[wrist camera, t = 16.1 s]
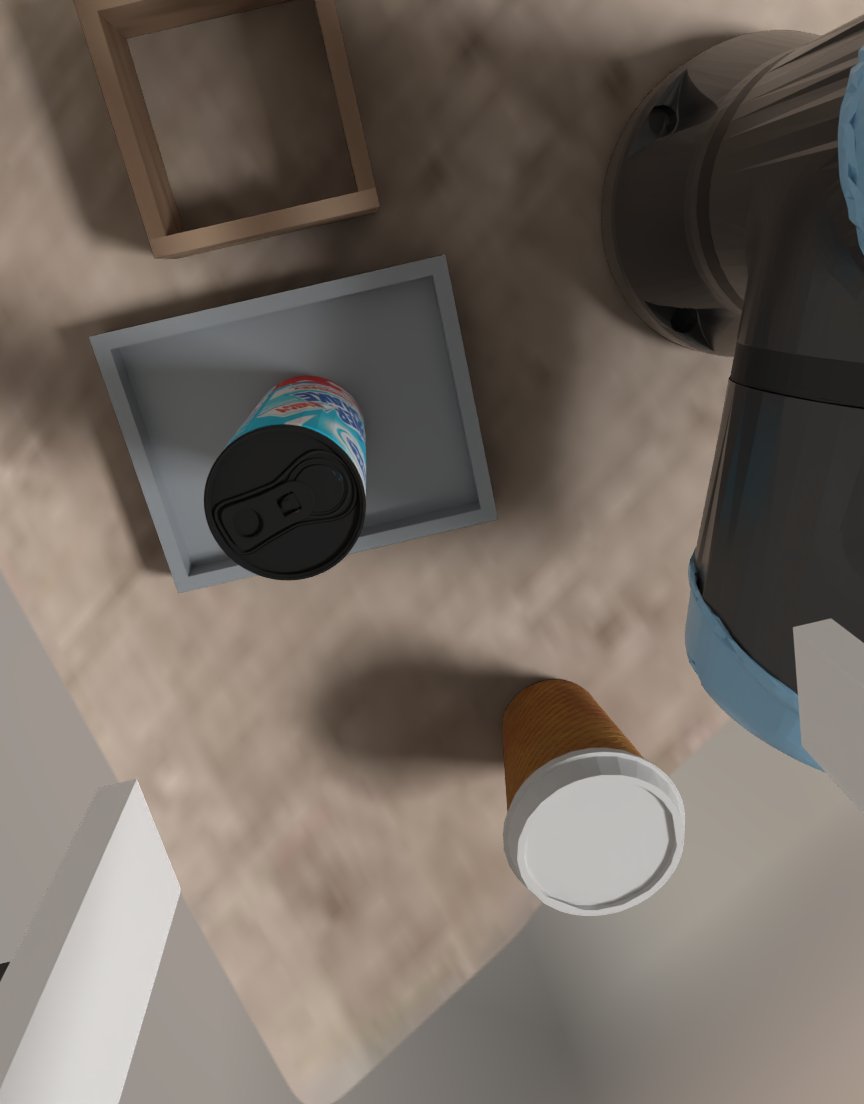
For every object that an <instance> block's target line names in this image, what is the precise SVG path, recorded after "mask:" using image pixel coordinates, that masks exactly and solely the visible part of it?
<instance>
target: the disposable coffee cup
mask: <svg viewBox="0 0 864 1104" xmlns="http://www.w3.org/2000/svg"><path fill="white" fill-rule="evenodd" d="M502 737H503V752H504V767H505V782H506V796H507V812H508V813H507V816H506V819H505V822H504V831H503V840H504V851H505V854H506V857H507V860H508V863H509V866H510V868H511V869H512V871H513V872H514V874H515V875H516V877H517V878H518V879H519V880H520V881H521V882H522V883H523V884H524V885H525V886H526V887H527V888H528V889H529V890H530V891H531V892H532V893H533V894H534V895H535V896H536V897H537V898H538V899H540V900H541V901H542V902H543V903H545V904H547V905H549V906H551V907H553V908H555V909H557V910H559V911H562V912H566V913H569V914H574V915H583V916H599V915H604V914H611V913H617V912H620V911H622V910H625V909H627V908H630V907H632V906H635V905H637V904H639V903H640V902H642V901H644V900H645V899H647V898H649V897H650V896H651V895H653V894H654V893H655V892H656V891H657V890H658V889H660V888H661V887H662V886H663V885H664V884H665V883H666V881H667V880H668V879H669V878H670V876H671V875H672V874H673V872H674V870H675V869H676V867H677V865H678V862H679V860H680V857H681V855H682V851H683V846H684V828H685V813H684V806H683V802H682V799H681V796H680V794H679V792H678V790H677V788H676V787H675V785H674V783H673V782H672V781H671V780H670V778H669V777H668V776H667V775H666V774H665V773H664V772H663V771H662V770H661V769H659V768H658V767H657V766H656V765H655V764H653V763H651V762H649V761H647V760H646V759H644V758H643V757H642V756H641V754H640V753H639V752H638V751H637V750H636V749H635V747H634V746H633V745H632V744H631V743H630V741H629V740H628V739H627V738H626V737H625V736H624V734H623V733H622V732H621V731H620V730H619V728H618V727H617V726H616V725H615V724H614V722H613V721H612V720H611V719H610V718H609V717H608V715H607V714H606V713H605V712H604V711H603V709H602V708H601V707H600V706H599V705H598V704H597V702H596V701H595V700H594V699H593V697H592V696H591V695H590V694H589V692H587V691H586V690H585V689H583V688H582V687H581V686H579V685H577V684H574V683H572V682H569V681H565V680H546V681H542V682H538V683H535V684H533V685H531V686H529V687H527V688H525V689H524V690H522V691H521V692H520V693H518V694H517V695H516V697H515V698H514V699H513V700H512V701H511V702H510V704H509V706H508V707H507V709H506V711H505V714H504V717H503V722H502Z"/></svg>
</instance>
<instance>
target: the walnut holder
mask: <svg viewBox="0 0 864 1104" xmlns="http://www.w3.org/2000/svg"><path fill="white" fill-rule="evenodd" d="M287 1H291V0H74V3H75V6H76V10H77V13H78V16H79V19H80V22H81V26H82V29H83V32H84V35H85V38H86V42H87V45H88V48H89V51H90V54H91V58H92V61H93V64H94V67H95V70H96V74H97V77H98V80H99V83H100V86H101V90H102V93H103V96H104V99H105V102H106V106H107V109H108V112H109V115H110V118H111V121H112V125H113V128H114V131H115V134H116V137H117V141H118V144H119V147H120V150H121V153H122V157H123V160H124V163H125V166H126V169H127V173H128V176H129V179H130V182H131V185H132V189H133V192H134V195H135V198H136V201H137V205H138V208H139V211H140V214H141V217H142V221H143V224H144V227H145V230H146V233H147V236H148V240H149V243H150V246H151V249H152V252H153V256H154V258H162V259H177V258H181V257H185V256H190V255H194V254H198V253H203V252H207V251H211V250H216V249H220V248H224V247H229V246H233V245H237V244H242V243H246V242H250V241H255V240H259V239H263V238H268V237H272V236H276V235H281V234H285V233H289V232H294V231H298V230H302V229H307V228H311V227H315V226H320V225H324V224H328V223H333V222H337V221H341V220H346V219H350V218H354V217H359V216H363V215H367V214H372V213H376V212H378V211H379V207H380V205H379V200H378V196H377V191H376V187H375V182H374V178H373V173H372V168H371V164H370V159H369V155H368V150H367V146H366V141H365V137H364V132H363V128H362V123H361V119H360V114H359V109H358V105H357V100H356V96H355V91H354V87H353V82H352V78H351V73H350V69H349V64H348V60H347V55H346V50H345V46H344V41H343V37H342V32H341V28H340V23H339V19H338V14H337V10H336V5H335V1H334V0H314V3H315V7H316V11H317V16H318V20H319V25H320V29H321V33H322V38H323V42H324V47H325V51H326V55H327V60H328V64H329V68H330V73H331V77H332V82H333V86H334V90H335V95H336V99H337V104H338V108H339V112H340V117H341V121H342V126H343V130H344V134H345V139H346V143H347V148H348V152H349V156H350V161H351V165H352V170H353V174H354V178H355V183H356V187H357V192H355V193H351V194H346V195H342V196H338V197H333V198H329V199H325V200H320V201H316V202H312V203H307V204H303V205H299V206H294V207H290V208H286V209H281V210H277V211H273V212H268V213H264V214H260V215H255V216H251V217H247V218H242V219H238V220H234V221H229V222H225V223H221V224H216V225H212V226H208V227H203V228H199V229H195V230H190V231H186V232H184V231H183V228H182V224H181V221H180V218H179V214H178V211H177V208H176V204H175V201H174V198H173V194H172V191H171V188H170V184H169V181H168V178H167V174H166V171H165V167H164V164H163V161H162V157H161V154H160V151H159V147H158V144H157V141H156V137H155V134H154V131H153V127H152V124H151V121H150V117H149V114H148V110H147V107H146V104H145V100H144V97H143V94H142V90H141V87H140V84H139V80H138V77H137V74H136V70H135V67H134V64H133V60H132V57H131V54H130V50H129V47H128V43H127V40H126V38H131V37H135V36H139V35H144V34H148V33H152V32H157V31H161V30H165V29H170V28H174V27H178V26H183V25H187V24H191V23H196V22H200V21H204V20H209V19H213V18H217V17H222V16H226V15H230V14H235V13H239V12H243V11H248V10H252V9H257V8H261V7H265V6H270V5H274V4H278V3H283V2H287Z"/></svg>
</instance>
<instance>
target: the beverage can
mask: <svg viewBox="0 0 864 1104" xmlns="http://www.w3.org/2000/svg"><path fill="white" fill-rule="evenodd" d="M204 510H205V516H206V520H207V523H208V526H209V529H210V531H211V533H212V535H213V537H214V539H215V541H216V542H217V544H218V545H219V546H220V548H221V549H222V550H223V551H224V553H225V554H226V555H227V556H228V557H229V558H231V559H232V560H233V561H234V562H235V563H237V564H238V565H240V566H241V567H243V568H244V569H246V570H248V571H250V572H252V573H254V574H257V575H260V576H263V577H266V578H271V579H276V580H299V579H305V578H309V577H313V576H315V575H318V574H320V573H323V572H325V571H327V570H329V569H330V568H332V567H333V566H335V565H336V564H337V563H339V562H340V561H341V560H342V559H343V558H344V557H345V556H346V555H347V554H348V553H349V552H350V551H351V549H352V548H353V546H354V545H355V543H356V542H357V540H358V538H359V536H360V533H361V531H362V528H363V524H364V520H365V514H366V427H365V422H364V417H363V415H362V412H361V410H360V408H359V406H358V404H357V403H356V401H355V400H354V398H353V397H352V396H351V394H349V393H348V392H347V391H346V390H345V389H344V388H343V387H342V386H340V385H338V384H336V383H335V382H333V381H331V380H328V379H325V378H322V377H317V376H298V377H293V378H290V379H287V380H285V381H282V382H281V383H279V384H277V385H276V386H274V387H273V388H271V389H270V390H269V391H268V393H267V394H266V395H265V396H264V397H263V398H262V400H261V401H260V402H259V404H258V405H257V406H256V407H255V409H254V410H253V411H252V413H251V414H250V415H249V416H248V418H247V419H246V420H245V421H244V423H243V424H242V425H241V427H240V428H239V429H238V431H237V432H236V433H235V435H234V436H233V437H232V439H231V440H230V441H229V443H228V444H227V445H226V447H225V448H224V450H223V451H222V453H221V454H220V455H219V456H218V458H217V459H216V461H215V462H214V464H213V466H212V468H211V470H210V472H209V475H208V477H207V481H206V484H205V490H204Z"/></svg>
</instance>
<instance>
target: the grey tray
mask: <svg viewBox="0 0 864 1104" xmlns="http://www.w3.org/2000/svg"><path fill="white" fill-rule="evenodd" d="M89 339H90V342H91V345H92V348H93V351H94V354H95V357H96V359H97V362H98V365H99V368H100V371H101V374H102V377H103V379H104V382H105V385H106V388H107V391H108V394H109V397H110V399H111V402H112V405H113V408H114V411H115V414H116V417H117V419H118V422H119V425H120V428H121V431H122V434H123V437H124V440H125V442H126V445H127V448H128V451H129V454H130V457H131V460H132V462H133V465H134V468H135V471H136V474H137V477H138V480H139V482H140V485H141V488H142V491H143V494H144V497H145V500H146V502H147V505H148V508H149V511H150V514H151V517H152V520H153V522H154V525H155V528H156V531H157V534H158V537H159V540H160V543H161V545H162V548H163V551H164V554H165V557H166V560H167V563H168V565H169V568H170V571H171V574H172V577H173V580H174V583H175V585H176V588H177V591H178V593H183V592H187V591H191V590H195V589H200V588H204V587H208V586H213V585H217V584H221V583H226V582H230V581H234V580H239V579H243V578H247V577H252V576H256V575H257V574H254V573H252V572H250V571H248V570H246V569H244V568H243V567H241V566H240V565H238V564H237V563H235V562H234V561H233V560H232V559H231V558H229V557H228V556H227V555H226V554H225V553H224V551H223V550H222V549H221V548H220V546H219V545H218V544H217V542H216V541H215V539H214V537H213V535H212V533H211V531H210V529H209V526H208V523H207V520H206V516H205V510H204V490H205V484H206V481H207V477H208V475H209V472H210V470H211V468H212V466H213V464H214V462H215V461H216V459H217V458H218V456H219V455H220V454H221V453H222V451H223V450H224V448H225V447H226V445H227V444H228V443H229V441H230V440H231V439H232V437H233V436H234V435H235V433H236V432H237V431H238V429H239V428H240V427H241V425H242V424H243V423H244V421H245V420H246V419H247V418H248V416H249V415H250V414H251V413H252V411H253V410H254V409H255V407H256V406H257V405H258V404H259V402H260V401H261V400H262V398H263V397H264V396H265V395H266V394H267V393H268V391H269V390H270V389H271V388H273V387H274V386H276V385H277V384H279V383H281V382H282V381H285V380H287V379H290V378H293V377H298V376H317V377H322V378H325V379H328V380H331V381H333V382H335V383H336V384H338V385H340V386H342V387H343V388H344V389H345V390H346V391H347V392H348V393H349V394H351V396H352V397H353V398H354V400H355V401H356V403H357V404H358V406H359V408H360V410H361V412H362V415H363V417H364V422H365V427H366V514H365V520H364V524H363V528H362V531H361V533H360V536H359V538H358V540H357V542H356V543H355V545H354V546H353V548H352V549H351V551H350V552H349V553H348V554H351V553H355V552H360V551H364V550H368V549H373V548H377V547H381V546H386V545H390V544H394V543H399V542H403V541H407V540H412V539H416V538H420V537H425V536H429V535H433V534H438V533H442V532H446V531H451V530H455V529H459V528H464V527H468V526H472V525H477V524H481V523H485V522H490V521H494V520H498V517H497V512H496V507H495V502H494V497H493V492H492V487H491V482H490V477H489V472H488V466H487V461H486V456H485V451H484V446H483V441H482V436H481V431H480V426H479V421H478V416H477V411H476V406H475V401H474V396H473V391H472V386H471V381H470V376H469V371H468V366H467V361H466V356H465V351H464V346H463V341H462V336H461V331H460V326H459V321H458V316H457V311H456V306H455V300H454V295H453V290H452V285H451V280H450V275H449V270H448V265H447V260H446V255H439V256H435V257H431V258H426V259H422V260H418V261H413V262H409V263H405V264H400V265H396V266H392V267H387V268H383V269H379V270H374V271H370V272H366V273H361V274H357V275H353V276H348V277H344V278H340V279H335V280H331V281H327V282H322V283H318V284H314V285H309V286H305V287H301V288H296V289H292V290H288V291H283V292H279V293H275V294H270V295H266V296H262V297H257V298H253V299H249V300H244V301H240V302H236V303H231V304H227V305H223V306H218V307H214V308H210V309H205V310H201V311H197V312H192V313H188V314H184V315H179V316H175V317H171V318H166V319H162V320H158V321H153V322H149V323H145V324H140V325H136V326H132V327H127V328H123V329H119V330H114V331H110V332H106V333H102V334H98V335H94V336H91V337H89Z"/></svg>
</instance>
